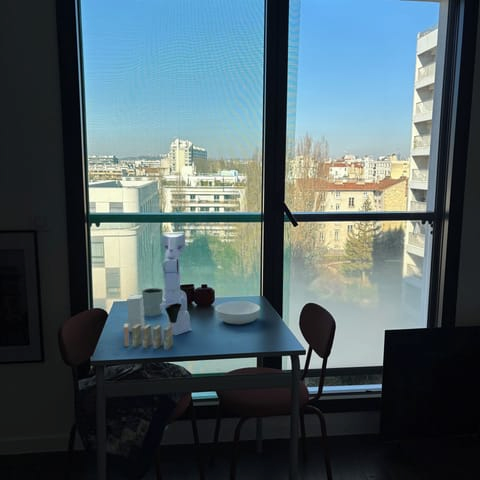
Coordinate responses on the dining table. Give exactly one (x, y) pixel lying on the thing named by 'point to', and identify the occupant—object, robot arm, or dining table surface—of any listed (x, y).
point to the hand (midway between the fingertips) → (173, 322)
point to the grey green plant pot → (152, 301)
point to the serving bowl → (237, 312)
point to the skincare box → (135, 311)
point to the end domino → (126, 334)
